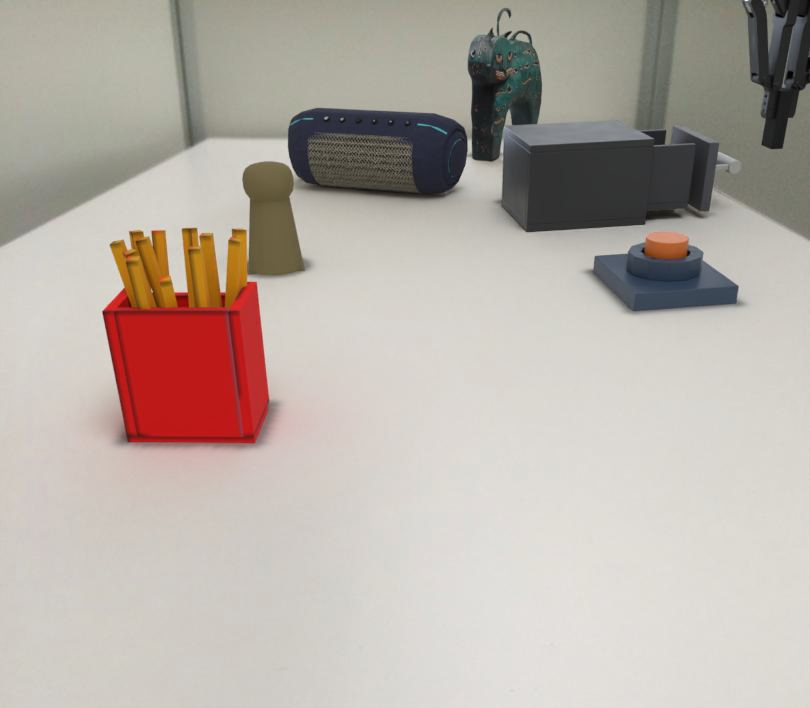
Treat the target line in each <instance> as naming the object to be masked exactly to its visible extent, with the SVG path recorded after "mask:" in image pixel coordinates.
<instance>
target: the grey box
mask: <svg viewBox="0 0 810 708" xmlns="http://www.w3.org/2000/svg"><path fill="white" fill-rule="evenodd" d="M638 130H639V129H637V128H635V127H632V126H630V125H628V124H626V123H625V122H622V121H621V120H618V119H611V120H610V119H609V120H608V119H607V120H591V121H590V120H589V121H588V120H587V121H570V122H552V123H550V122H549V123H537V124H530V125H512V124H511V125H504V128H503V147H502V149H503V151H502V180H501V181H502V183H501V207H502V208H503V209H504V210H505V211H506V212H507V213H508V214H509V215H510V216H511V217H512V218H513V219H514V220H515V221H516V222H517V224H519V226H520V227H521V228H522V229H523V230H524V231H525V232H526V233H529V232H531V233H532V232H547V231H563V230H577V229H592V228H593V229H595V228H607V227H608V228H609V227H624V226H639V225H640V226H641V225H646V221H647V212H648V211H647V203H648V194H649V185H650V176H651V167H652V158H653V149H654V141H655V139H654V138H652V137H650V136H648V135H646V134H644V133H642V132H640V131H638Z"/></svg>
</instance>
